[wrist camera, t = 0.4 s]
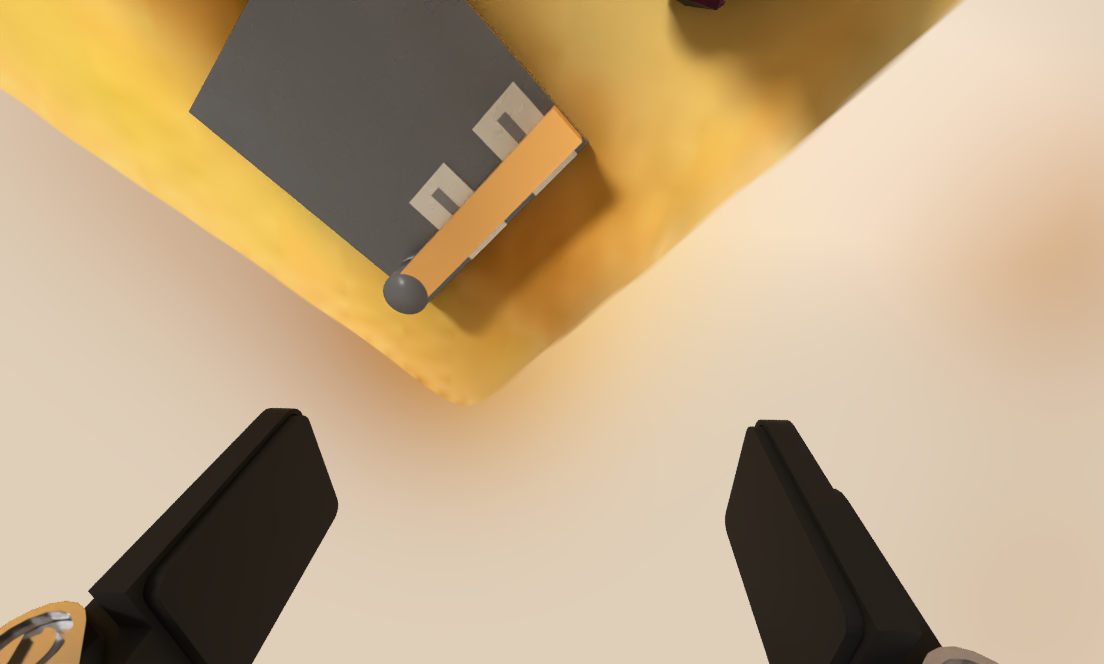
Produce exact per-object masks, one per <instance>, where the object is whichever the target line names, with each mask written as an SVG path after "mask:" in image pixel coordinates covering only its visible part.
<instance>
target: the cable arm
mask: <svg viewBox="0 0 1104 664" xmlns="http://www.w3.org/2000/svg"><path fill="white" fill-rule="evenodd" d="M581 143H582V138H581V135H580V134H579V133H578V131H577V130H576V129H575V128H574V127H573V126H572V124H571V123H570V122H569V121H568V120H567V119H566V117H565V116H564V115H563V114H562V113H561V112H560V111H559V109H558V108H557V107H556V106H555V105H554V106H553V107H552V108H551V109H550V110H549V111H548V113H547V114H546V115H545V116H544V117H543V118H542V119H541V120H540V121H539V122H538V123H537V124H536V125H535V127H534V128H533V129H532V130H531V131H530V132H529V133H528V134H527V135H526V136H525V137H524V138H523V140H522V141H521V142H520V143H519V144H518V145H517V146H516V147H515V148H514V149H513V150H512V151H511V153H510V154H509V155H508V156H507V157H506V158H505V159H504V160H503V161H502V162H501V163H500V164H499V166H498V167H497V168H496V169H495V170H494V171H493V172H492V173H491V174H490V175H489V176H488V177H487V178H486V180H485V181H484V182H483V183H482V184H481V185H480V186H479V187H478V188H477V189H476V190H475V191H474V193H473V194H472V195H471V196H470V197H469V198H468V199H467V200H466V201H465V202H464V203H463V204H462V206H461V207H460V208H459V209H458V210H457V211H456V212H455V213H454V214H453V215H452V216H451V217H450V219H449V220H448V221H447V222H446V223H445V224H444V225H443V226H442V227H441V228H440V229H439V230H438V231H437V233H436V234H435V235H434V236H433V237H432V238H431V239H430V240H429V241H428V242H427V243H426V244H425V246H424V247H423V248H422V249H421V250H420V251H419V252H418V253H417V254H416V255H415V256H414V257H413V258H412V259H408V260H405V261H404V262H402V263H401V264H400V266H399V267H398V268H397V269H396V270H395V271H394V273H393V274H392V275H391V276H390V277H389V278H388V280H387V281H386V282H385V284H384V288H383V293H384V297H385V300H386V301H387V303H388V304H389V305H390V306H391V307H392V308H393V309H395V310H396V311H398V312H400V313H404V314H415V313H418V312H420V311H422V310H423V309H424V308H425V306H426V305H427V303H428V301H429V300H430V298H431V296H432V295H433V293H434V291H435V290H436V289H437V288H438V287H439V286H440V285H441V284H442V283H443V282H444V281H445V280H446V279H447V278H448V277H449V276H450V275H451V274H452V273H453V272H454V271H455V270H456V269H457V268H458V267H459V266H460V265H461V264H462V263H463V262H464V261H465V260H466V259H467V258H468V257H469V256H470V255H471V254H472V253H473V252H474V251H475V250H476V249H477V248H478V247H479V246H480V245H481V244H482V243H483V242H484V240H485V239H486V238H487V237H488V236H489V235H490V234H491V233H492V232H493V231H494V230H495V229H496V228H497V227H498V226H499V225H500V224H501V223H502V222H503V221H504V220H505V219H506V218H507V217H508V216H509V215H510V214H511V213H512V212H513V211H514V210H515V209H516V208H517V207H518V206H519V205H520V204H521V203H522V202H523V201H524V200H525V199H526V198H527V197H528V196H529V195H530V194H531V193H532V192H533V191H534V190H535V189H536V188H537V187H538V186H539V185H540V184H541V183H542V182H543V181H544V180H545V179H546V178H547V177H548V176H549V175H550V174H551V173H552V172H553V171H554V170H555V169H556V168H557V167H558V166H559V165H560V164H561V163H562V162H563V161H564V160H565V159H566V158H567V157H568V156H569V155H570V154H571V153H572V152H573V151H574V150H575V149H576V148H577V147H578V146H579V145H580V144H581Z"/></svg>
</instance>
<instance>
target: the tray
mask: <svg viewBox="0 0 1104 664" xmlns="http://www.w3.org/2000/svg"><path fill="white" fill-rule="evenodd" d="M554 105H555V106H556V107H557V108H558V109H559V111H560V112H561V113H562V114H563V115H564V116H565V117H566V119H567V120H568V121H569V122H570V123H571V124H572V126H573V127H574V128H575V129H576V130H577V131H578V133H579V134H580V135H581V138H582V143H581V144H580V145H579V146H578V147H577V148H576V149H575V150H574V151H573V152H572V153H571V154H570V155H569V156H568V157H567V158H566V159H565V160H564V161H563V162H562V163H561V164H560V165H559V166H558V167H557V168H556V169H555V170H554V171H553V172H552V173H551V174H550V175H549V176H548V177H547V178H546V179H545V180H544V181H543V182H542V183H541V184H540V185H539V186H538V187H537V188H536V189H535V190H534V191H533V192H532V193H531V194H530V195H529V196H528V197H527V198H526V199H525V200H524V201H523V202H522V203H521V204H520V205H519V206H518V207H517V208H516V209H515V210H514V211H513V212H512V213H511V214H510V215H509V216H508V217H507V218H506V219H505V220H504V221H503V222H502V223H501V224H500V225H499V226H498V227H497V228H496V229H495V230H494V231H493V232H492V233H491V234H490V235H489V236H488V237H487V238H486V239H485V240H484V242H483V243H482V244H481V245H480V246H479V247H478V248H477V249H476V250H475V251H474V252H473V253H472V254H471V255H470V256H469V257H468V258H467V259H466V260H465V261H464V262H463V263H462V264H461V265H460V266H459V267H458V268H457V269H456V270H455V271H454V272H453V273H452V274H451V275H450V276H449V277H448V278H447V279H446V280H445V281H444V282H443V283H442V284H441V285H440V286H439V287H438V288H437V289H436V290H435V291H434V293H433V295H432V296H431V298H430V300H431V299H432V298H433V297H434V296H435V295H436V294H437V293H438V292H439V291H440V290H441V289H442V288H443V287H444V286H445V285H446V284H447V283H448V282H449V281H450V280H451V279H452V278H453V277H454V276H455V275H456V274H457V273H458V272H459V271H460V270H461V269H462V268H463V267H464V266H465V265H466V264H467V263H468V262H469V261H470V260H471V259H473V258H474V257H475V256H476V255H477V254H478V253H479V252H480V251H481V250H482V249H483V248H484V247H485V246H486V245H487V244H488V243H489V242H490V241H491V240H492V239H493V238H494V237H495V236H496V235H497V234H498V233H499V232H500V231H501V230H502V229H503V228H504V227H505V226H506V225H507V224H508V222H509V221H511V220H512V219H513V218H514V217H515V216H516V215H517V214H518V213H519V212H520V211H521V210H522V209H523V208H524V207H525V206H526V205H527V204H528V203H529V202H530V201H531V200H532V199H533V198H534V197H535V196H536V195H537V194H538V193H539V192H540V191H541V190H542V189H543V188H544V187H545V186H546V185H547V184H548V183H549V182H550V181H551V180H552V179H553V178H554V177H555V176H556V175H557V174H558V173H559V172H560V171H561V170H562V169H563V168H564V167H565V166H566V165H567V164H568V163H569V162H570V161H571V160H572V159H573V158H574V157H575V156H576V155H577V154H578V153H579V152H580V151H581V150H582V149H583V148H584V147H585V146H586V145H587V144H588V140H587V139H586V138H585V137H584V135H583V134H582V133H581V132H580V131H579V130H578V128H577V127H576V126H575V125H574V124H573V123H572V121H571V120H570V119H569V118H568V117H567V116H566V115H565V113H564V112H563V111H562V110H561V109H560V108H559V106H558V105H557V104H556V103H555V102H554V101H553V99H552V98H551V97H550V96H549V95H548V94H547V92H546V91H545V90H544V89H543V88H542V87H541V85H540V84H539V83H538V82H537V81H536V80H535V78H534V77H533V76H532V75H531V74H530V73H529V71H528V70H527V69H526V68H525V67H524V66H523V64H522V63H521V62H520V61H519V60H518V59H517V58H516V56H515V55H514V54H513V53H512V52H511V51H510V49H509V48H508V47H507V46H506V45H505V44H504V42H503V41H502V40H501V39H500V38H499V37H498V35H497V34H496V33H495V32H494V31H493V30H492V28H491V27H490V26H489V25H488V24H487V23H486V21H485V20H484V19H483V18H482V17H481V16H480V14H479V13H478V12H477V11H476V10H475V9H474V8H473V6H472V5H471V4H470V3H469V2H468V1H467V0H248V2H247V4H246V6H245V8H244V10H243V12H242V13H241V15H240V17H239V19H238V21H237V23H236V25H235V27H234V28H233V30H232V32H231V34H230V36H229V38H228V40H227V41H226V43H225V45H224V47H223V49H222V51H221V53H220V55H219V56H218V58H217V60H216V62H215V64H214V66H213V68H212V69H211V71H210V73H209V75H208V77H207V79H206V81H205V82H204V84H203V86H202V88H201V90H200V92H199V94H198V96H197V97H196V99H195V101H194V103H193V105H192V107H191V109H190V110H189V112H190V113H191V114H192V115H193V116H194V117H196V118H197V119H198V120H199V121H201V122H202V123H203V124H204V125H205V126H207V127H208V128H209V129H210V130H212V131H213V132H214V133H215V134H216V135H218V136H219V137H220V138H221V139H223V140H224V141H225V142H226V143H227V144H229V145H230V146H231V147H232V148H234V149H235V150H236V151H237V152H238V153H240V154H241V155H242V156H243V157H245V158H246V159H247V160H248V161H249V162H251V163H252V164H253V165H254V166H256V167H257V168H258V169H259V170H260V171H262V172H263V173H264V174H265V175H266V176H268V177H269V178H270V179H271V180H273V181H274V182H275V183H276V184H277V185H279V186H280V187H281V188H282V189H284V190H285V191H286V192H287V193H288V194H290V195H291V196H292V197H293V198H295V199H296V200H297V201H298V202H299V203H301V204H302V205H303V206H304V207H306V208H307V209H308V210H309V211H310V212H312V213H313V214H314V215H315V216H317V217H318V218H319V219H320V220H321V221H323V222H324V223H325V224H326V225H328V226H329V227H330V228H331V229H332V230H334V231H335V232H336V233H337V234H338V235H340V236H341V237H342V238H343V239H345V240H346V241H347V242H348V243H349V244H351V245H352V246H353V247H354V248H356V249H357V250H358V251H359V252H360V253H362V254H363V255H364V256H365V257H367V258H368V259H369V260H370V261H371V262H373V263H374V264H375V265H376V266H378V267H379V268H380V269H381V270H382V271H384V272H385V273H386V274H387V275H389V276H391V275H392V274H393V273H394V271H395V270H396V269H397V268H398V267H399V266H400V264H401V263H402V262H404V261H405V260H408V259H412V258H413V257H414V256H415V255H416V254H417V253H418V252H419V251H420V250H421V249H422V248H423V247H424V246H425V244H426V243H427V242H428V241H429V240H430V239H431V238H432V237H433V236H434V235H435V234H436V233H437V231H438V230H439V229H440V228H441V227H442V226H443V225H444V224H445V223H446V222H447V221H448V220H449V219H450V217H451V216H452V215H453V214H454V213H455V212H456V211H457V210H458V209H459V208H460V207H461V206H462V204H463V203H464V202H465V201H466V200H467V199H468V198H469V197H470V196H471V195H472V194H473V193H474V191H475V190H476V189H477V188H478V187H479V186H480V185H481V184H482V183H483V182H484V181H485V180H486V178H487V177H488V176H489V175H490V174H491V173H492V172H493V171H494V170H495V169H496V168H497V167H498V166H499V164H500V163H501V162H502V161H503V160H504V159H505V158H506V157H507V156H508V155H509V154H510V153H511V151H512V150H513V149H514V148H515V147H516V146H517V145H518V144H519V143H520V142H521V141H522V140H523V138H524V137H525V136H526V135H527V134H528V133H529V132H530V131H531V130H532V129H533V128H534V127H535V125H536V124H537V123H538V122H539V121H540V120H541V119H542V118H543V117H544V116H545V115H546V114H547V113H548V111H549V110H550V109H551V108H552V107H553V106H554ZM430 300H429V301H430ZM429 301H428V302H429Z"/></svg>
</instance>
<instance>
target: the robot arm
mask: <svg viewBox="0 0 1104 664" xmlns="http://www.w3.org/2000/svg"><path fill="white" fill-rule="evenodd" d="M337 510H338V500H337V497H336V494H335V491H334V489H333V486H332V483H331V480H330V477H329V475H328V472H327V469H326V466H325V464H324V461H323V458H322V455H321V452H320V450H319V447H318V444H317V441H316V438H315V435H314V433H313V430H312V427H311V424H310V421H309V419H308V418H307V417H306V416H303V415H302V413H301V412H300V411H299V410H298V409H289V408H288V409H287V408H269V409H266V410H265V411H263V412H262V413H261V414H260V415H259V416H258V417H257V418H256V419H255V420H254V421H253V422H252V423H251V424H250V425H249V426H248V428H246V429H245V431H244V432H243V433H242V434H241V435H240V436H239V437H238V438H237V439H236V440H235V441H234V442H233V443H232V444H231V445H230V446H229V447H228V448H227V449H226V450H225V451H224V452H223V453H222V454H221V455H220V456H219V457H218V458H217V459H216V460H215V461H214V462H213V463H212V464H211V465H210V467H208V468H207V470H206V471H205V472H204V473H203V474H202V475H201V476H200V477H199V478H198V479H197V480H196V481H195V482H194V483H193V484H192V485H191V486H190V487H189V488H188V489H187V490H186V491H185V492H184V493H183V494H182V495H181V496H180V497H179V498H178V499H177V500H176V501H175V503H173V504H172V505H171V506H170V507H169V509H168V510H167V511H166V512H165V513H164V514H163V515H162V516H161V517H160V518H159V519H158V520H157V521H156V522H155V523H154V524H153V525H152V526H151V527H150V528H149V529H148V530H147V531H146V532H145V533H144V534H143V535H142V536H141V537H140V538H139V539H138V540H137V541H136V542H135V544H133V546H131V547H130V549H129V550H128V551H127V552H126V553H125V554H124V555H123V556H122V557H121V558H120V559H119V560H118V561H117V562H116V563H115V564H114V565H113V566H112V567H111V568H110V569H109V570H108V571H107V572H106V573H105V574H104V575H103V577H102V578H100V579H99V580H98V581H97V582H96V583H95V584H94V586H92V588H91V589H90V590H89V591H88V592H89V593H90V594H91V595H92V596H93V597H94V599H93V600H92V601H91V602H90V603H89V604H88V605H87V606H86V607H85V608H83V607H82V606H81V605H80V604H79V603H76V602H69V601H64V602H57V603H51V604H47V605H45V606H42V607H39V608H36V609H34V610H31V611H29V612H27V613H25V614H23V615H21V616H19V617H17V618H16V619H14V620H12V621H10V622H8V623H7V624H5V625H4V626H2V627H1V628H0V664H252V663H253V661H254V659H255V657H256V656H257V654H258V652H259V650H260V649H261V647H262V645H263V643H264V641H265V640H266V638H267V636H268V635H269V633H270V631H271V629H272V628H273V626H274V624H275V622H276V621H277V619H278V617H279V615H280V613H281V612H282V610H283V608H284V606H285V605H286V603H287V601H288V599H289V598H290V596H291V594H292V592H293V590H294V589H295V587H296V585H297V584H298V582H299V580H300V578H301V577H302V575H303V573H304V571H305V569H306V567H307V566H308V564H309V563H310V561H311V559H312V557H313V555H314V554H315V552H316V550H317V548H318V547H319V545H320V543H321V541H322V539H323V538H324V536H325V534H326V533H327V531H328V529H329V527H330V526H331V524H332V522H333V520H334V519H335V516H336V513H337ZM725 525H726V531H727V535H728V538H729V541H730V544H731V547H732V550H733V553H734V556H735V559H736V562H737V565H738V568H739V572H740V575H741V578H742V581H743V583H744V587H745V590H746V593H747V596H748V599H749V602H750V605H751V608H752V611H753V615H754V617H755V621H756V624H757V627H758V630H759V633H760V636H761V639H762V642H763V645H764V648H765V651H766V654H767V658H768V661H769V664H998V663H996V662H995V661H992V660H990V659H989V658H986V657H984V656H982V655H980V654H978V653H976V652H974V651H970V650H966V649H962V648H958V647H942V646H941V645H940V643H939V642H938V640H937V638H936V637H935V635H934V634H933V632H932V631H931V629H930V627H929V626H928V624H927V623H926V622H925V620H924V618H923V617H922V615H921V613H920V612H919V610H918V609H917V607H916V606H915V604H914V603H913V601H912V600H911V598H910V596H909V595H908V593H907V592H906V590H905V589H904V587H903V585H902V584H901V583H900V581H899V579H898V578H897V576H896V575H895V573H894V571H893V570H892V568H891V567H890V565H889V564H888V562H887V561H886V559H885V557H884V556H883V554H882V553H881V551H880V550H879V548H878V546H877V545H876V543H875V542H874V540H873V539H872V537H871V535H870V534H869V532H868V531H867V529H866V528H865V526H864V525H863V523H862V521H861V520H860V518H859V517H858V515H857V514H856V512H855V511H854V509H853V507H852V506H851V504H850V503H849V501H848V500H847V499H846V498H845V496H844V495H843V494H842V493H841V492H840V491H838V490H836V489H833V488H832V486H831V484H830V483H829V481H828V479H827V478H826V476H825V475H824V473H823V472H822V470H821V468H820V467H819V465H818V463H817V462H816V460H815V459H814V457H813V455H812V454H811V452H810V450H809V449H808V447H807V446H806V444H805V442H804V441H803V439H802V438H801V436H800V435H799V433H798V432H797V430H796V428H795V426H794V425H793V424H792V423H791V422H790V421H788V420H758V422H757V423H756V425H755V427H748V429H747V431H746V435H745V438H744V442H743V446H742V450H741V454H740V458H739V463H738V467H737V471H736V474H735V478H734V482H733V486H732V490H731V494H730V499H729V502H728V506H727V510H726V515H725Z"/></svg>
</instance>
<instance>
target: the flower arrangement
mask: <svg viewBox="0 0 1104 664" xmlns="http://www.w3.org/2000/svg"><path fill="white" fill-rule="evenodd" d="M678 1H679V2H681V3H682V4H684V5H685V6H692V7H699V8H706V9H713V10H717V9H718V8H720V7H721V6H723V5H724V3H725V0H678Z"/></svg>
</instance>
